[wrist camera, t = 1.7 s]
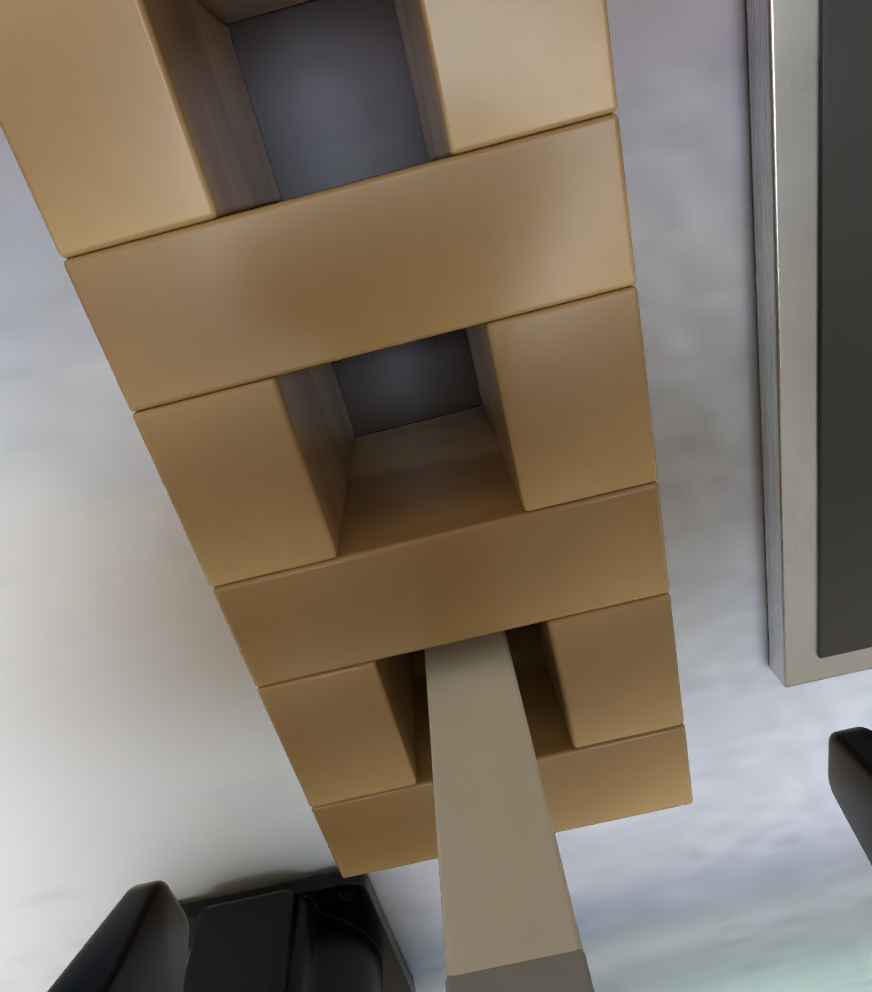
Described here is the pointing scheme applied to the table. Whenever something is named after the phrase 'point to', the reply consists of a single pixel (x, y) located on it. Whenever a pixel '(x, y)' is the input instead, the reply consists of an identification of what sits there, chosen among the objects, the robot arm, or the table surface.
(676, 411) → the table surface
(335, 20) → the table surface
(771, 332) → the tablet
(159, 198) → the pen stand
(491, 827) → the grey square stick
